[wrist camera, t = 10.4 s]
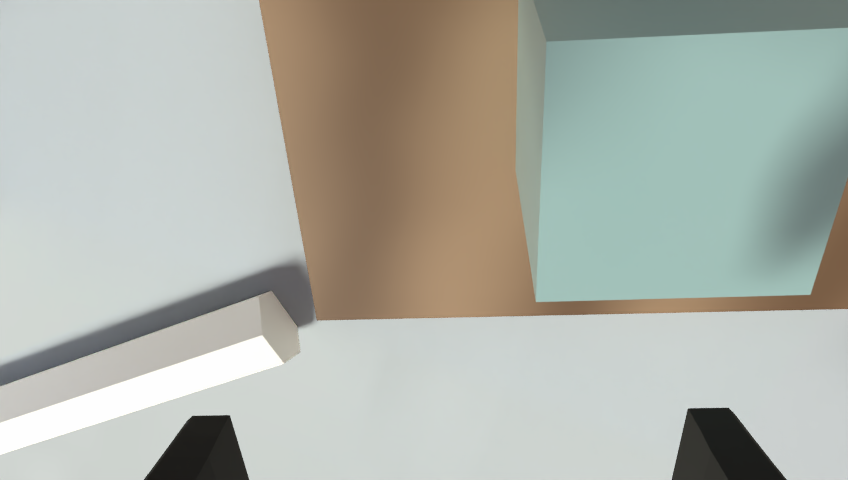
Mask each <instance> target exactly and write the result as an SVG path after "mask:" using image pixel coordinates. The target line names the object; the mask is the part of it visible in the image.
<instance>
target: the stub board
mask: <svg viewBox="0 0 848 480" xmlns="http://www.w3.org/2000/svg"><path fill="white" fill-rule="evenodd" d="M259 3H260V8H261V14H262V19H263V25H264V30H265V36H266V41H267V47H268V53H269V58H270V64H271V69H272V75H273V80H274V86H275V91H276V97H277V102H278V108H279V113H280V119H281V125H282V130H283V136H284V141H285V147H286V152H287V158H288V163H289V169H290V174H291V180H292V185H293V191H294V197H295V202H296V208H297V213H298V219H299V224H300V230H301V235H302V241H303V246H304V252H305V257H306V263H307V269H308V274H309V280H310V285H311V291H312V296H313V302H314V307H315V313H316V318H317V320H356V319H402V318H448V317H494V316H540V315H587V314H633V313H679V312H725V311H771V310H817V309H848V178H847V182H846V185H845V188H844V191H843V194H842V197H841V200H840V204H839V207H838V210H837V213H836V216H835V219H834V222H833V225H832V229H831V232H830V235H829V238H828V241H827V244H826V247H825V250H824V254H823V257H822V260H821V263H820V266H819V269H818V272H817V276H816V279H815V282H814V285H813V288H812V291H811V294H810V295H785V296H747V297H709V298H671V299H633V300H596V301H558V302H536V300H535V293H534V287H533V280H532V274H531V267H530V261H529V254H528V248H527V241H526V235H525V228H524V222H523V215H522V209H521V203H520V196H519V190H518V183H517V177H516V170H515V167H516V110H517V52H518V0H259Z"/></svg>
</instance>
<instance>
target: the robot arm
mask: <svg viewBox="0 0 848 480" xmlns="http://www.w3.org/2000/svg"><path fill="white" fill-rule="evenodd" d="M144 480H249V478H248V474H247V471H246V468H245V465H244V461H243V458H242V455H241V451H240V448H239V445H238V441H237V438H236V435H235V431H234V428H233V425H232V421H231V418H230V415H223V416H192V417H191V418H190V419H189V420H188V421H187V422H186V423H185V425H184V426H183V427H182V429H181V430H180V432H179V433H178V434H177V436H176V437H175V438H174V440H173V441H172V442H171V444H170V445H169V447H168V448H167V449H166V451H165V452H164V453H163V455H162V456H161V457H160V459H159V460H158V462H157V463H156V464H155V466H154V467H153V468H152V470H151V471H150V472H149V474H148V475H147V476H146V478H145V479H144ZM672 480H786V478H785V477H784V476H783V475H782V473H781V472H780V471H779V470H778V469H777V467H776V466H775V465H774V464H773V462H772V461H771V460H770V459H769V457H768V456H767V455H766V454H765V452H764V451H763V450H762V449H761V447H760V446H759V445H758V443H757V442H756V441H755V440H754V438H753V437H752V436H751V435H750V433H749V432H748V431H747V429H746V428H745V427H744V426H743V424H742V423H741V422H740V420H739V419H738V418H737V416H736V415H735V414H734V413H733V412H732V411H731V410H730V409H729V408H690V409H688V411H687V415H686V420H685V424H684V428H683V433H682V437H681V442H680V446H679V450H678V455H677V459H676V463H675V468H674V472H673V477H672Z"/></svg>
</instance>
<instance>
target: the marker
mask: <svg viewBox="0 0 848 480" xmlns="http://www.w3.org/2000/svg"><path fill="white" fill-rule="evenodd" d="M299 353H300V345H299V336H298V327H297V325H296V324H295V323H294V321H293V320H292V319H291V317H290V316H289V314H288V313H287V312H286V310H285V309H284V307H283V306H282V305H281V303H280V302H279V300H278V299H277V298H276V296H275V295H274V294H273V292H272V291H269V292H266V293H264V294H261V295H258V296H255V297H252V298H249V299H246V300H244V301H241V302H238V303H235V304H232V305H229V306H227V307H224V308H221V309H218V310H215V311H212V312H210V313H207V314H204V315H201V316H198V317H195V318H192V319H190V320H187V321H184V322H181V323H178V324H175V325H173V326H170V327H167V328H164V329H161V330H158V331H156V332H153V333H150V334H147V335H144V336H141V337H138V338H136V339H133V340H130V341H127V342H124V343H121V344H119V345H116V346H113V347H110V348H107V349H104V350H102V351H99V352H96V353H93V354H90V355H87V356H84V357H82V358H79V359H76V360H73V361H70V362H67V363H65V364H62V365H59V366H56V367H53V368H50V369H48V370H45V371H42V372H39V373H36V374H33V375H30V376H28V377H25V378H22V379H19V380H16V381H13V382H11V383H8V384H5V385H2V386H0V454H3V453H6V452H10V451H13V450H16V449H19V448H22V447H25V446H28V445H31V444H35V443H38V442H41V441H44V440H47V439H50V438H53V437H56V436H60V435H63V434H66V433H69V432H72V431H75V430H78V429H81V428H84V427H88V426H91V425H94V424H97V423H100V422H103V421H106V420H109V419H113V418H116V417H119V416H122V415H125V414H128V413H131V412H134V411H138V410H141V409H144V408H147V407H150V406H153V405H156V404H159V403H163V402H166V401H169V400H172V399H175V398H178V397H181V396H184V395H188V394H191V393H194V392H197V391H200V390H203V389H206V388H209V387H213V386H216V385H219V384H222V383H225V382H228V381H231V380H234V379H237V378H241V377H244V376H247V375H250V374H253V373H256V372H259V371H262V370H266V369H269V368H272V367H275V366H278V365H281V364H284V363H286V362H287V361H288V360H290V359H291V358H293V357H294V356H296V355H297V354H299Z"/></svg>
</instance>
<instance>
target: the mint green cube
mask: <svg viewBox="0 0 848 480" xmlns="http://www.w3.org/2000/svg"><path fill="white" fill-rule="evenodd" d="M515 170H516V177H517V183H518V190H519V196H520V203H521V209H522V215H523V222H524V228H525V235H526V241H527V248H528V254H529V261H530V267H531V274H532V280H533V287H534V293H535V300H536V302H558V301H596V300H633V299H671V298H709V297H747V296H785V295H810V294H811V291H812V288H813V285H814V282H815V279H816V276H817V272H818V269H819V266H820V263H821V260H822V257H823V254H824V250H825V247H826V244H827V241H828V238H829V235H830V232H831V229H832V225H833V222H834V219H835V216H836V213H837V210H838V207H839V204H840V200H841V197H842V194H843V191H844V188H845V185H846V182H847V178H848V0H518V52H517V110H516V167H515Z"/></svg>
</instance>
